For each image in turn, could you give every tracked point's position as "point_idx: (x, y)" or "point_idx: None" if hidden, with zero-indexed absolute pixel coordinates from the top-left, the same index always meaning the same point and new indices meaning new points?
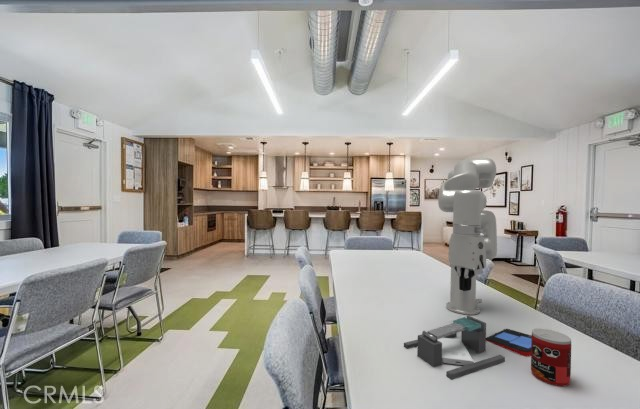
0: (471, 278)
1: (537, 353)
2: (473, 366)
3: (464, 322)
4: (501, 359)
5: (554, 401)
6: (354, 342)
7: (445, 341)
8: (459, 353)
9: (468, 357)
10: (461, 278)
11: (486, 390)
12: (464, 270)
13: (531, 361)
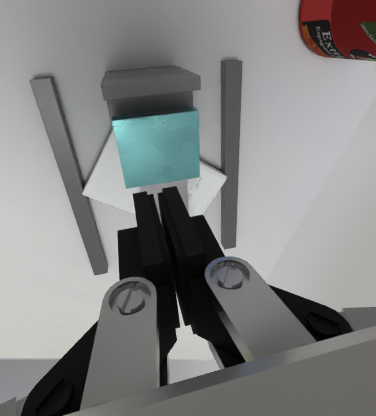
0: (229, 266)
1: (370, 60)
2: (234, 187)
3: (157, 161)
4: (240, 79)
5: (362, 108)
6: (57, 345)
7: (119, 179)
8: (187, 186)
9: (210, 179)
10: (175, 325)
11: (280, 204)
12: (143, 352)
13: (323, 45)
